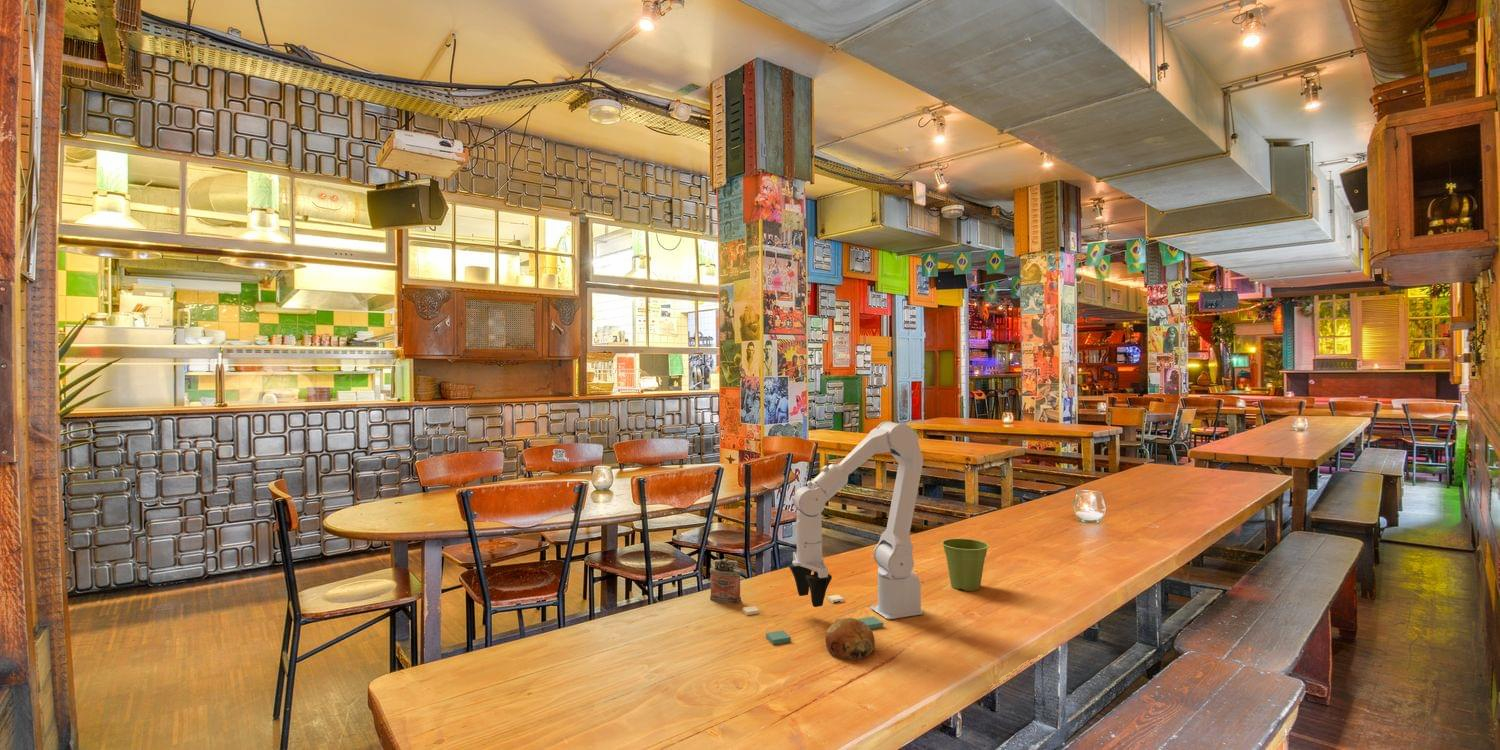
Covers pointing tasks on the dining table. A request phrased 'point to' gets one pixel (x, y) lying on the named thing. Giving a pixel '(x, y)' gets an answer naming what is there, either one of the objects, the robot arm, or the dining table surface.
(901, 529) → the robot arm
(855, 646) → the bread roll
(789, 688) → the dining table surface
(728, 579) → the lighter
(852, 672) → the dining table surface
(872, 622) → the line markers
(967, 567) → the plant pot
